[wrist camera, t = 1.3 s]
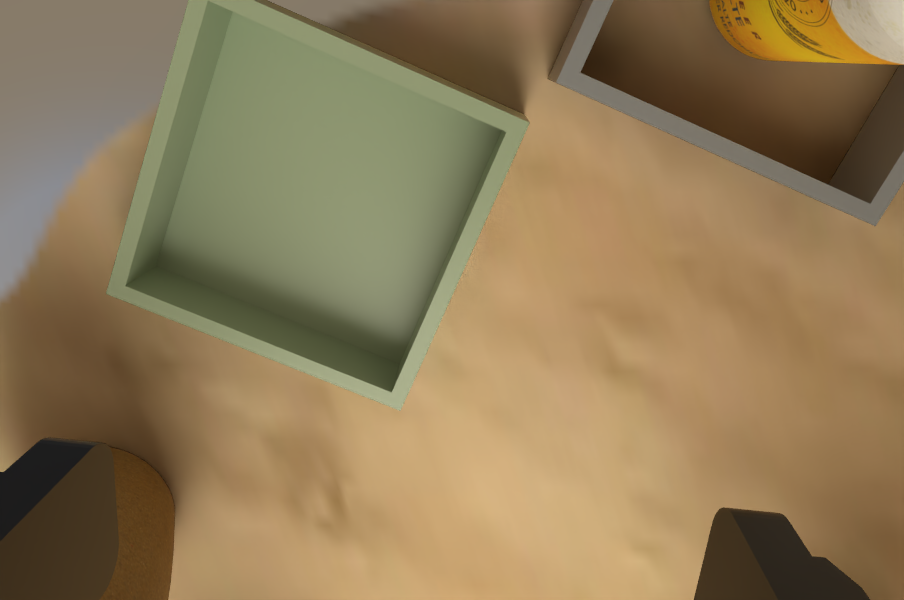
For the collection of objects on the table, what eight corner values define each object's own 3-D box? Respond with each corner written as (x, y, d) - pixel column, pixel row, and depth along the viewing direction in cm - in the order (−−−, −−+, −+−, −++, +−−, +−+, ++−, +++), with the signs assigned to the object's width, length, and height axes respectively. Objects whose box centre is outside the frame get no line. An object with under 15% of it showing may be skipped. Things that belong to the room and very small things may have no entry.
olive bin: (524, 114, 33) (529, 122, 29) (408, 374, 37) (400, 410, 34) (229, -17, 32) (195, -26, 28) (145, 268, 36) (105, 293, 32)
